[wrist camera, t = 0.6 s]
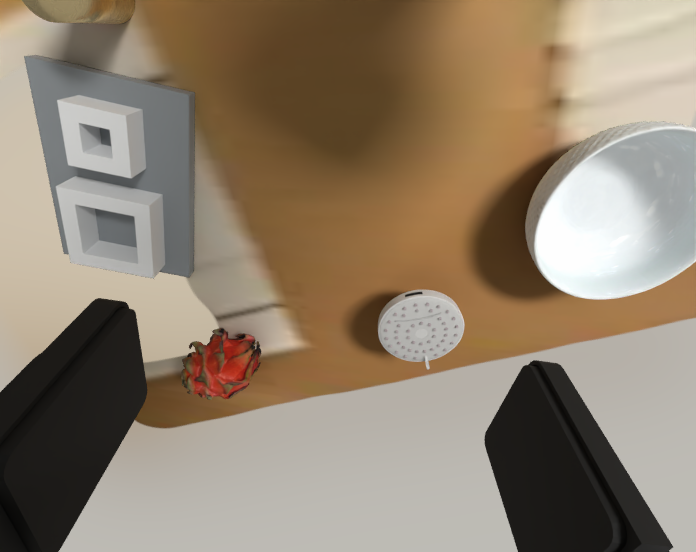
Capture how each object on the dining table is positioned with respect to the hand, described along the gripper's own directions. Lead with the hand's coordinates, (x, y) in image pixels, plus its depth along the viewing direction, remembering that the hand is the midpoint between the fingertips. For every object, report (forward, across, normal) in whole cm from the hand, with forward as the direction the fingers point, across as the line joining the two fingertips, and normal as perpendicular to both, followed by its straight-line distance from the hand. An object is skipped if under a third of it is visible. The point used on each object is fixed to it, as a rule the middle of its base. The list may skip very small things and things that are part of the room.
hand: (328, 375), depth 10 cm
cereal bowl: (+33, -26, +3) cm, 42 cm away
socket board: (+33, +22, +10) cm, 41 cm away
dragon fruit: (+33, +11, +31) cm, 47 cm away
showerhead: (+33, -12, +19) cm, 40 cm away
